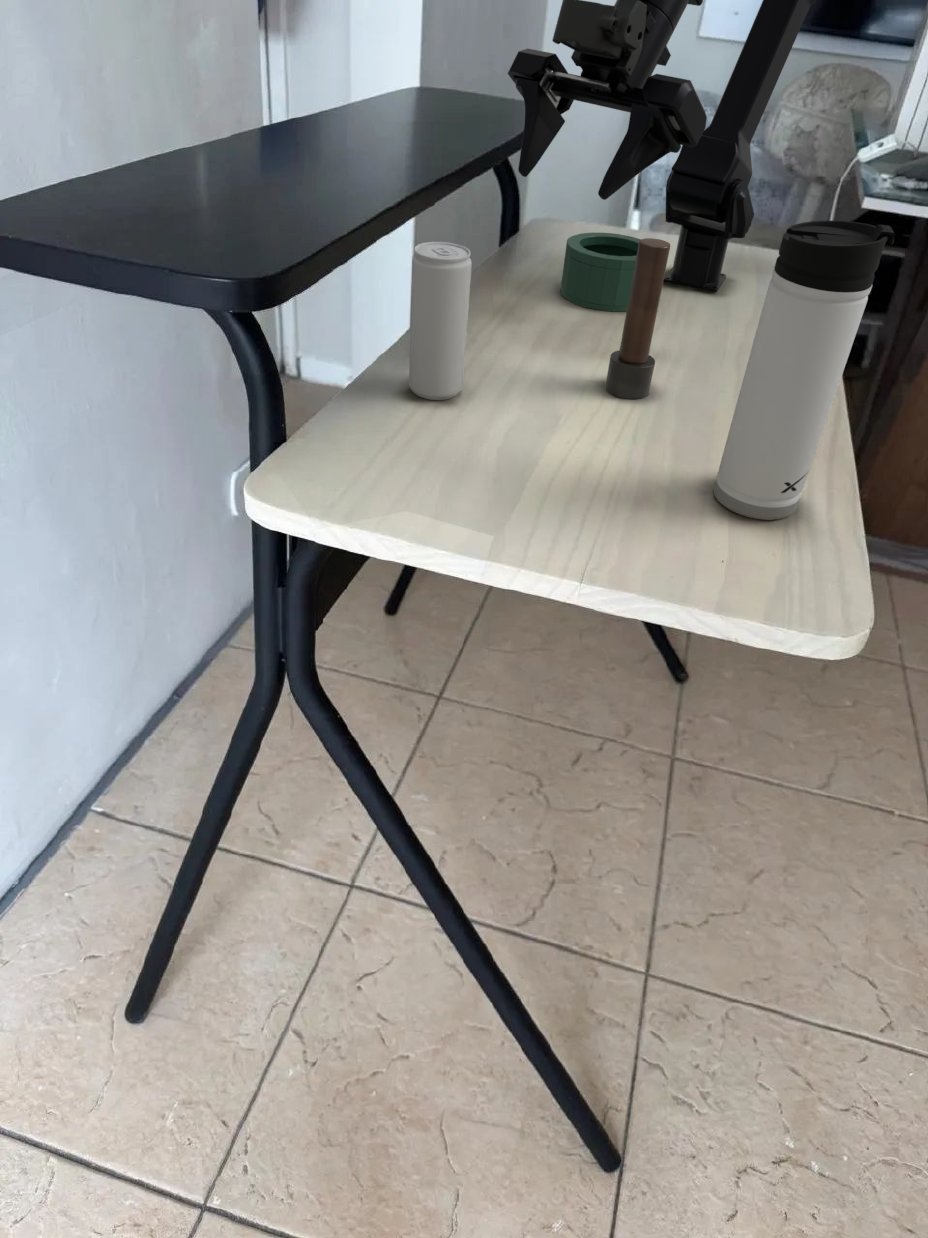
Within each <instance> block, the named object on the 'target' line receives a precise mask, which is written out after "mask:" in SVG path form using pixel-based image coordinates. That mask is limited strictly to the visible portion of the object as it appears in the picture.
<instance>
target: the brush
mask: <svg viewBox="0 0 928 1238" xmlns="http://www.w3.org/2000/svg"><path fill="white" fill-rule="evenodd" d="M640 239H641V240H640V241H639V245H638V251H637V256H636V262H635V267H634V273H633V278H632V284H631V289H630V295H629V301H628V306H627V311H625V317H624V323H623V329H622V335H621V340H620V345H619V350H615V351H614V352H612V353H610V357H609V363H608V369H607V373H606V379H605V384H604V388H605V390H606V391H607V392H608V393H609V394H610V395H612V396H615V397H618V398H622V399H627V400H639V399H644V398H646V397H647V396H649V394H650V389H651V385H652V380H653V375H654V370H655V365H656V360H655V358H654V357H653V356H652V355H650V351H651V345H652V339H653V334H654V331H655V325H656V320H657V316H658V309H659V306H660V305H659V304H660V300H661V295H662V290H663V285H664V282H663V280H664V277H665V276H666V270H667V265H668V260H669V255H670V251H671V243H670V242H668V241H666V240H664V239H660V238H654V237H653V238H650V237H648V238H647V237H646V238H640Z"/></svg>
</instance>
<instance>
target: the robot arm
mask: <svg viewBox="0 0 928 1238" xmlns="http://www.w3.org/2000/svg"><path fill="white" fill-rule="evenodd" d="M817 1H818V0H762V2H761V3H760V6H759V9H758V11H757V13H756V15H755V18H754V20H753V23H752V25H751V27H750V29H749V33H748V34H747V37H746V39H745V41H744V44H743V46H742V49H741V51H740V53H739V56H738V58H737V60H736V62H735V65H734V67H733V70H732V72H731V75H730V77H729V79H728V82H727V84H726V86H725V89H724V91H723V94H722V96H721V98H720V101H719V103H718V106H717V108H716V110H715V113H714V115H713V117H712V120H711V122H710V124H709V125H708V126H706V125H707V121H708V117H707V113H706V110H705V108H704V106H703V104H702V102H701V99H700V97H699V96H698V93H697V92H696V91H697V90H696V89H695V87H694V85H693V83H692V80H690V79H685V78H681V77H676V76H671V75H665V74H662V73H661V74H660V73H655V74H653V73H654V71H655V69H656V67H657V66H658V65H659V66H664V67H666V66H667V64H668V62H669V60H670V59H671V56H672V55H671V52H670V50H669V48H668V43H669V42H670V39H671V38H672V36H673V34H674V31H675V29H676V28H677V26H678V24H679V22H680V20H681V18H682V16H683V14H684V12H685V10H686V8H687V6H688V5H689V6H690V5H691V6H696V7H697V6H698V7H699V6H701V5H702V4H703V2H704V0H616V1H615V3H614V5H609V4H605V3H604V4H603V3H600V2H596V1H589V0H562V2H561V6H560V10H559V13H558V16H557V17H558V18H557V21H556V24H555V29H554V33H553V36H552V42H553V43H554V44H557V45H560V44H562V45H564V46H565V47H567V48H569V49H571V50H573V53H571V56H570V59H571V60H572V62H573V63H574V65H575V67H580V69H581V70H582V71H581V72H580V75H577V74H573V73H569V72H568V71H567V69H566V67H565V65H564V64H563V63H562V61H561V59H560V58H559V56H558V55H557V53H553V52H549V51H543V50H538V49H533V48H528V47H527V48H525V49H521V50H518V51H517V53H516V55H515V57H514V59H513V61H512V63H511V65H510V68H509V69H508V71H507V75H508V76H509V77H510V79H511V81H513V83H514V84H515V88H516V90H517V92H518V93H519V94H520V95H521V97H522V98H523V102H524V125H523V133H522V140H521V147H520V154H519V161H518V169H517V170H518V173H519V174H520V176H521V177H524V178H526V177H528V176H529V175H530V173H531V172H532V171H533V169H535V167H536V166H537V164H539V162H540V160H541V159H542V157H543V156H544V154H545V153H546V152H547V150H548V149H549V146H550V145H551V143H552V142H553V141H554V139H555V138H556V137H557V135H558V134H559V132H560V131H561V129H562V127H563V126H564V125H565V123H566V120H565V118H564V117H563V114H564V113H566V112H568V111H569V110H570V109H571V107H572V105H573V103H574V101H576V102H577V101H578V102H582V103H586V104H591V105H595V106H600V107H604V108H607V109H612V110H617V111H622V112H626V113H629V120H628V126H627V130H626V133H625V135H624V137H623V139H622V141H621V143H620V145H619V147H618V148H617V150H616V153H615V154H614V157H613V158H612V161H611V163H610V165H609V166H608V168H607V170H606V172H605V174H604V176H603V177H602V181H601V184H600V186H599V189H598V190H597V191H598V192H597V194H598V197H599V198H600V199H601V200H603V201H605V200H607V199H609V198H610V197H611V196H612V195H614V194H615V193H616V192H617V191H618V190H620V189H621V188H622V187H624V186H625V185H626V184H627V183H629V182H630V181H632V179H633V178H635V177H636V176H638V175H639V174H641V172H643V171H644V170H645V169H647V168H648V167H650V166H651V165H653V164H654V163H656V162H657V161H659V160H661V159H662V158H663V157H665V156H667V155H668V154H669V153H674V154H677V153H678V155H677V158H676V160H675V162H674V164H673V165H672V166H671V172H670V173H669V175H668V177H667V181H666V184H665V222H666V223H669V224H671V223H672V224H676V225H678V226H680V230H679V235H678V241H677V244H676V250H675V254H674V259H673V264H672V267H671V268H670V269H669V270H668V272H666V273H665V275H664V280H663V284H664V283H665V284H668V285H669V284H670V285H673V286H674V285H675V286H679V287H684V288H688V289H695V290H699V291H703V292H709V293H717V292H718V291H719V290H720V288H721V287H722V285H723V284H724V282H725V280H726V278H727V274H725V273H722V270H723V266H724V263H725V262H724V261H725V258H726V253H727V249H728V245H729V241H730V240H732V239H745V237H746V234H748V233H749V230H750V227H752V222H753V219H754V218H755V212H754V206H753V202H752V198H751V194H750V189H749V185H750V182H751V179H752V177H753V164H752V155H751V143H752V140H753V139H754V136H755V133H756V131H757V128H758V127H759V124H760V122H761V120H762V117H763V115H764V113H765V111H766V108H767V106H768V104H769V102H770V99H771V97H772V95H773V92H774V90H775V87H776V85H777V83H778V81H779V78H780V76H781V74H782V72H783V70H784V67H785V64H786V62H787V60H788V57H789V56H790V53H791V51H792V49H793V46H794V45H795V41H796V39H797V37H798V34H799V33H800V30H801V28H802V25H803V23H804V21H805V19H806V16H807V14H808V12H809V10H810V8H811V6H812V5H814V4H815V3H816V2H817Z"/></svg>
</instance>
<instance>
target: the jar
mask: <svg viewBox="0 0 928 1238" xmlns="http://www.w3.org/2000/svg"><path fill="white" fill-rule="evenodd" d="M641 239H642V238H639V237H634V236H630V235H625V234H620V233H612V232H581V233H578V234H573V235H570V237H568V238H567V239H566V244H565V245H566V246H565V254H564V258H563V259H564V261H563V267H562V276H561V282H560V294H561V296H562V297H563V298H564V299H565V300H567V301H568V302H571V303H573V304H575V305H577V306H581V307H584V308H587V309H592V310H598V311H603V312H604V311H605V312H627V306H628V301H629V295H630V289H631V284H632V278H633V273H634V267H635V262H636V256H637V251H638V245H639V241H640V240H641Z"/></svg>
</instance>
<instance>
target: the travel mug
mask: <svg viewBox="0 0 928 1238" xmlns="http://www.w3.org/2000/svg"><path fill="white" fill-rule="evenodd" d="M895 237H896V233H895V232H894V230H893V229H892V227H891V226H890V225H887V224H877V225H872V224H869V223H863V222H857V221H851V220H850V221H849V220H814V221H813V220H811V221H803V222H799V223H796V224H793V225H790V226H789V227H788V228H787V229H786V232H785V233H783V235H782V239H781V242H780V246H779V248H778V249H779V250H778V255H779V256H777V258H776V260H775V264H774V266H773V268H772V272H771V278H770V280H769V282H768V287H767V290H766V294H765V298H764V301H763V305H762V307H761V312H760V316H759V320H758V322H757V323H758V324H757V327H756V330H755V335H754V338H753V341H752V345H751V349H750V353H749V357H748V359H747V363H746V367H745V371H744V374H743V377H742V378H743V379H742V382H741V386H740V389H739V393H738V396H737V401H736V404H735V408H734V411H733V415H732V419H731V423H730V426H729V430H728V434H727V437H726V441H725V444H724V448H723V451H722V456H721V459H720V463H719V467H718V472H717V474H716V478H715V481H714V484H713V488H712V489H713V494H714V497H715V498H716V500H717V502H719V503H720V504H721V505H722V506H724V507H725V508H726V509H728V510H729V511H731V512H733V513H735V514H737V515H740V516H744V517H746V518H749V519H750V518H751V519H755V520H763V521H772V520H773V521H774V520H780V519H784V518H787V517H789V516H791V515H792V514H794V513H795V512H796V510H797V509H798V506H799V503H800V500H801V497H802V493H803V490H804V488H805V485H806V482H807V480H808V477H809V474H810V471H811V468H812V465H813V462H814V459H815V457H816V453H817V450H818V448H819V444H820V442H821V438H822V436H823V432H824V430H825V427H826V424H827V422H828V418H829V415H830V412H831V409H832V406H833V403H834V400H835V397H836V394H837V391H838V388H839V386H840V382H841V380H842V377H843V374H844V371H845V367H846V364H847V363H848V359H849V356H850V353H851V350H852V347H853V344H854V341H855V338H856V336H857V333H858V330H859V327H860V325H861V321H862V318H863V315H864V312H865V309H866V306H867V303H868V300H869V295H870V293H871V291H872V289H873V282H874V280H875V277H876V276H875V272H877V270H878V268H879V265H880V262H881V261H880V260H881V258H882V255H883V251H884V248H885V246H886V243H888V244H889V245H891V246H893V244H894V242H895Z"/></svg>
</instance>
